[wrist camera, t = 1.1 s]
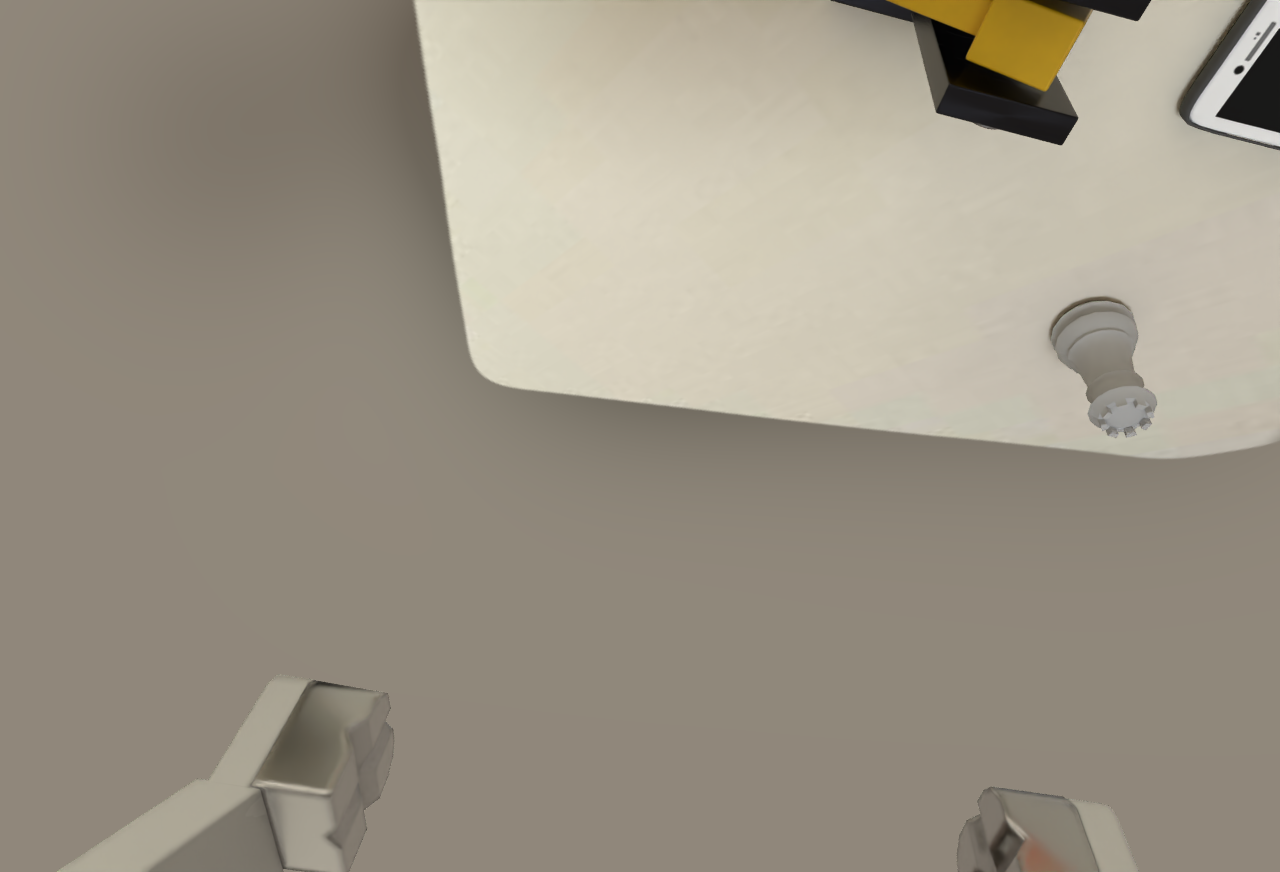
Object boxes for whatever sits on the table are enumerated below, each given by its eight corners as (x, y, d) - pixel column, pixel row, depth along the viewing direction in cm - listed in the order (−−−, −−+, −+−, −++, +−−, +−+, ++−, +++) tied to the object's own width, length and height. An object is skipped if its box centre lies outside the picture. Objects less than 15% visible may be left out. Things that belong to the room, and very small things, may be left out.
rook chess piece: (1050, 361, 51) (1080, 455, 45) (1047, 305, 48) (1079, 398, 42) (1131, 347, 49) (1173, 443, 44) (1134, 288, 46) (1178, 382, 41)
